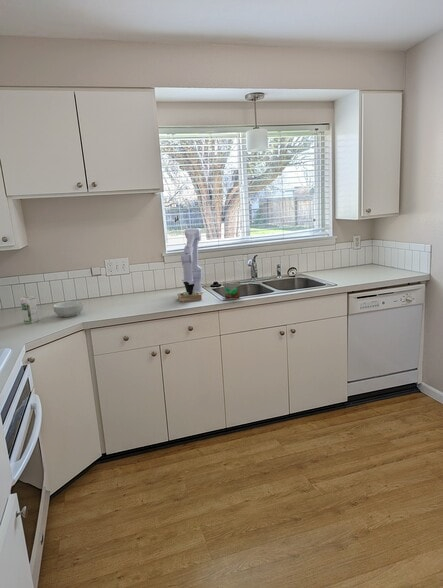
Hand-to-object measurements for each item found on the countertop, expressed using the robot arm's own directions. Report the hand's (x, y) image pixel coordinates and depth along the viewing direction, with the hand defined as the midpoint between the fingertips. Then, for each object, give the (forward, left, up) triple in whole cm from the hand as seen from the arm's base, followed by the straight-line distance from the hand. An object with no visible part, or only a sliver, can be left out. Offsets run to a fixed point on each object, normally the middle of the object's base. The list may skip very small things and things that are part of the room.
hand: (189, 293), depth 259 cm
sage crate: (0, 0, -3) cm, 3 cm away
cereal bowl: (+7, -73, -4) cm, 73 cm away
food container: (+9, +25, -4) cm, 27 cm away
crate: (0, 0, -4) cm, 4 cm away
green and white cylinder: (+13, -93, -4) cm, 94 cm away
